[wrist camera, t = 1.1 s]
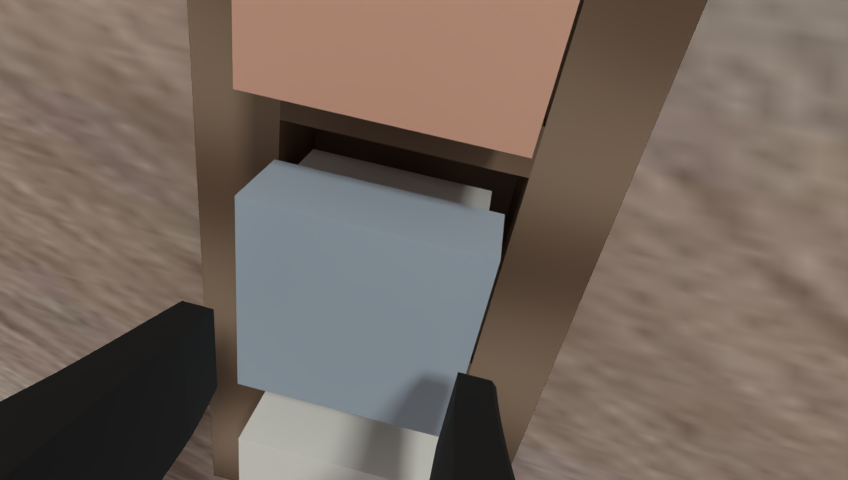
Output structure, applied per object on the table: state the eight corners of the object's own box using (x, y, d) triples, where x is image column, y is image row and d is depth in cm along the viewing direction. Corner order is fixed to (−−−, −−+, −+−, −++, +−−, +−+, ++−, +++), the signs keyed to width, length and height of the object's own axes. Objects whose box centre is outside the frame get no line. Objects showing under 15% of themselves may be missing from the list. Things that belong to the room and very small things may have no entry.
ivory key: (420, 487, 19) (400, 588, 16) (284, 449, 19) (239, 543, 16) (448, 389, 16) (430, 490, 13) (290, 347, 16) (238, 438, 13)
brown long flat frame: (482, 474, 22) (476, 547, 19) (250, 412, 22) (213, 475, 20) (772, -283, 10) (857, -355, 7) (251, -377, 10) (160, -475, 8)
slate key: (462, 340, 15) (446, 439, 12) (293, 297, 15) (237, 384, 12) (507, 182, 12) (500, 260, 10) (301, 134, 13) (234, 195, 10)
